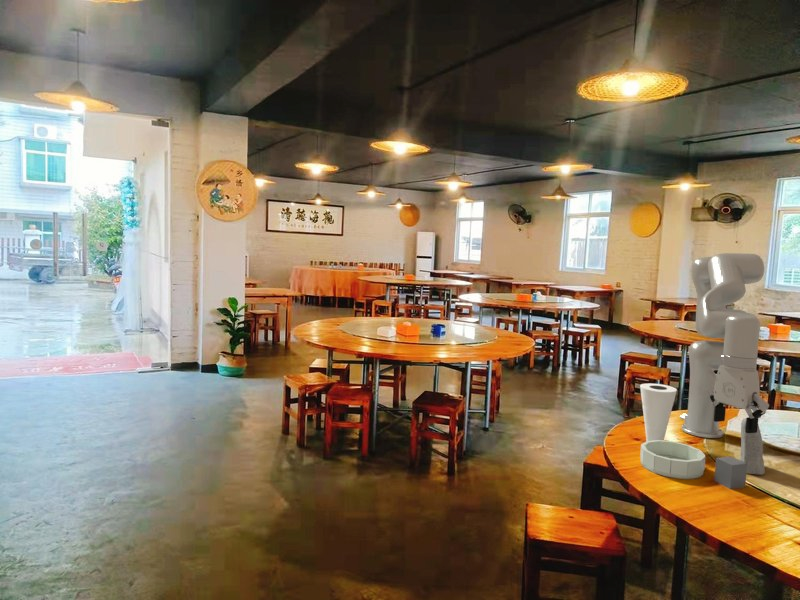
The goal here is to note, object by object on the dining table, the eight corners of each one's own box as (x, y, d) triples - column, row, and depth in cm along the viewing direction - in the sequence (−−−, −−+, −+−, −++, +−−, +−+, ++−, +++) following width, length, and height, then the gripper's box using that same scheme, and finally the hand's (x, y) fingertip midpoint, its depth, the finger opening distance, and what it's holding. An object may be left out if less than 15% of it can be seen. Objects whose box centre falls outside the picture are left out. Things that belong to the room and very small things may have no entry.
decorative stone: (735, 459, 162) (739, 410, 160) (758, 463, 159) (763, 413, 158) (740, 473, 152) (745, 421, 150) (766, 477, 150) (770, 424, 148)
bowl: (628, 459, 161) (629, 442, 160) (673, 454, 165) (674, 438, 165) (669, 481, 145) (670, 463, 145) (716, 475, 150) (718, 458, 149)
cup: (629, 437, 179) (632, 384, 177) (657, 435, 182) (661, 382, 180) (651, 449, 169) (655, 392, 167) (680, 446, 171) (684, 391, 170)
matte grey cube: (714, 481, 147) (716, 457, 146) (728, 479, 148) (730, 456, 147) (730, 489, 142) (732, 465, 141) (745, 487, 143) (747, 463, 143)
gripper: (701, 357, 149) (696, 418, 150) (758, 370, 132) (753, 438, 133) (722, 356, 151) (718, 416, 152) (782, 369, 134) (776, 436, 136)
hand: (734, 426), depth 143 cm, fingers open, 9 cm apart
